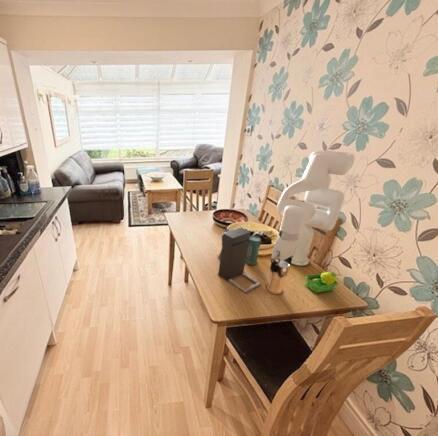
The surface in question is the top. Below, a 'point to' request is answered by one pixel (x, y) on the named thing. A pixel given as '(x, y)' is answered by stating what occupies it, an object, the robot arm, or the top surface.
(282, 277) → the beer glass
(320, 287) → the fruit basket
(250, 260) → the can
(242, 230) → the coffee maker
